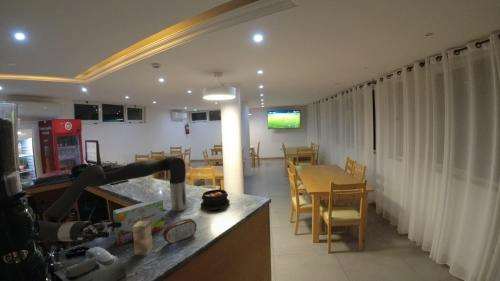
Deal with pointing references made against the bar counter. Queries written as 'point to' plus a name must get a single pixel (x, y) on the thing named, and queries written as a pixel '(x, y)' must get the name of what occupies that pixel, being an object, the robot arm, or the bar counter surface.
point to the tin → (179, 231)
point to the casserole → (215, 199)
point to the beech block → (142, 237)
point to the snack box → (138, 219)
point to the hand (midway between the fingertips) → (115, 229)
